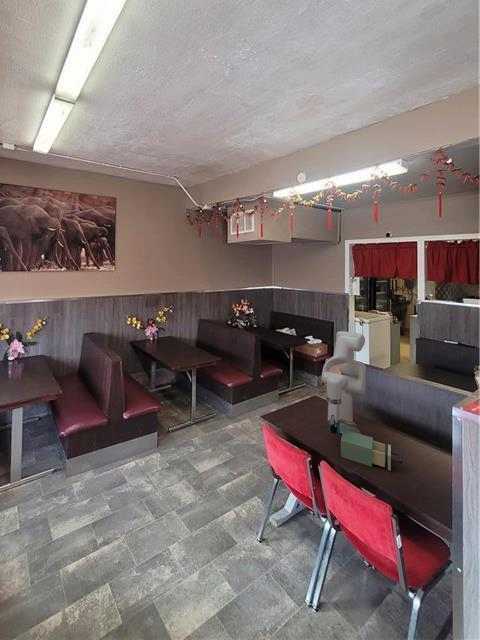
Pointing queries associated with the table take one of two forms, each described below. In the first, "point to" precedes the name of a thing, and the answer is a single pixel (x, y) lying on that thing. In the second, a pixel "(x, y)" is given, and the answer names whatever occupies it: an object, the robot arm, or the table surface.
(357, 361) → the robot arm
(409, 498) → the table surface
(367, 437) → the cabinet
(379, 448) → the drawer
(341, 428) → the tin
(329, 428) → the cube
